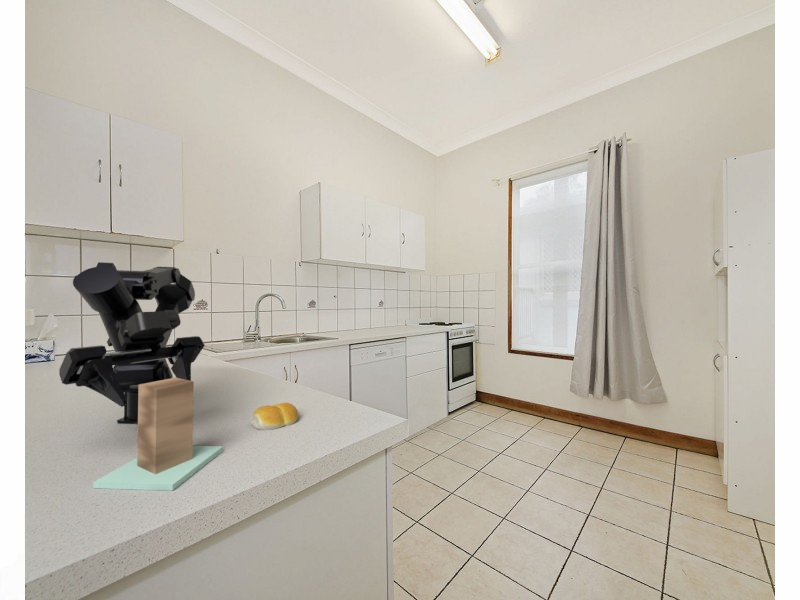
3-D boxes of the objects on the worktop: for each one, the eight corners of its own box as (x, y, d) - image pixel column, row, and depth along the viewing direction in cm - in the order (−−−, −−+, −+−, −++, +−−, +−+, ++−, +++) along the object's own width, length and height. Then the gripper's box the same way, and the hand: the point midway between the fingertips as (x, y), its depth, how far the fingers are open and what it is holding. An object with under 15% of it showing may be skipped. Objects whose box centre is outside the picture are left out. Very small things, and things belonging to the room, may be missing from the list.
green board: (93, 488, 42) (93, 482, 42) (159, 449, 53) (159, 444, 53) (172, 490, 42) (172, 484, 42) (222, 451, 52) (222, 446, 52)
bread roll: (305, 422, 66) (305, 403, 66) (262, 434, 60) (263, 413, 60) (286, 412, 72) (286, 395, 72) (245, 423, 65) (245, 404, 65)
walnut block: (137, 465, 46) (138, 384, 46) (174, 451, 51) (175, 377, 51) (155, 474, 44) (156, 389, 44) (192, 458, 48) (193, 381, 48)
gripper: (67, 293, 45) (100, 379, 40) (199, 295, 62) (234, 356, 57) (47, 343, 49) (75, 427, 44) (177, 332, 66) (208, 392, 61)
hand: (159, 396), depth 51 cm, fingers open, 9 cm apart
